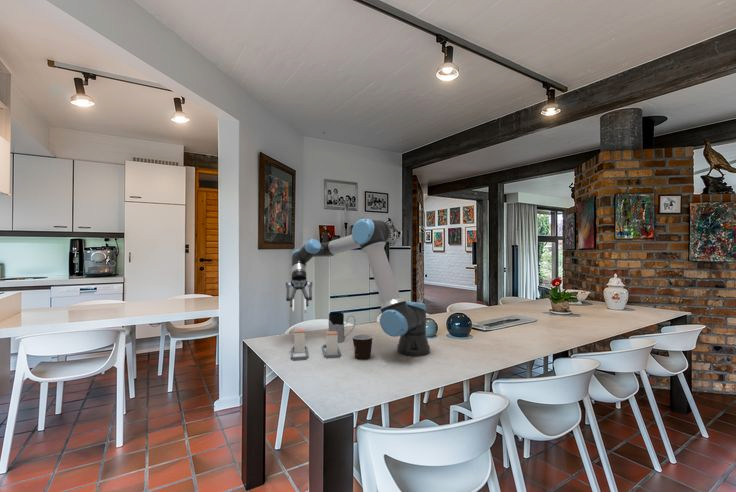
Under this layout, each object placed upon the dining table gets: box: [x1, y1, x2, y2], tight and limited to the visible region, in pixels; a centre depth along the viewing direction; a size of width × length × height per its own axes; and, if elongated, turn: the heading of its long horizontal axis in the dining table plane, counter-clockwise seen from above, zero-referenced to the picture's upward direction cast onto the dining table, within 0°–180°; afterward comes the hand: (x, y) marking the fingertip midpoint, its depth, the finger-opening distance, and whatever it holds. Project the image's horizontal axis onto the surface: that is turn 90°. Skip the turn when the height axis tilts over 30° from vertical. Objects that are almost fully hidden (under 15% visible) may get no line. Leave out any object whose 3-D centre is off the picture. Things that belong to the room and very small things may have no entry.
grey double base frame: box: [290, 343, 342, 362], centre depth 156 cm, size 18×22×2 cm
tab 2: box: [325, 331, 339, 355], centre depth 154 cm, size 4×5×10 cm
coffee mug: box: [352, 334, 373, 361], centre depth 151 cm, size 12×9×10 cm
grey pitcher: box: [328, 312, 356, 344], centre depth 176 cm, size 9×14×15 cm, turn 104°
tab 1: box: [293, 328, 306, 354], centre depth 158 cm, size 4×5×10 cm
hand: (299, 311), depth 164 cm, fingers open, 5 cm apart
